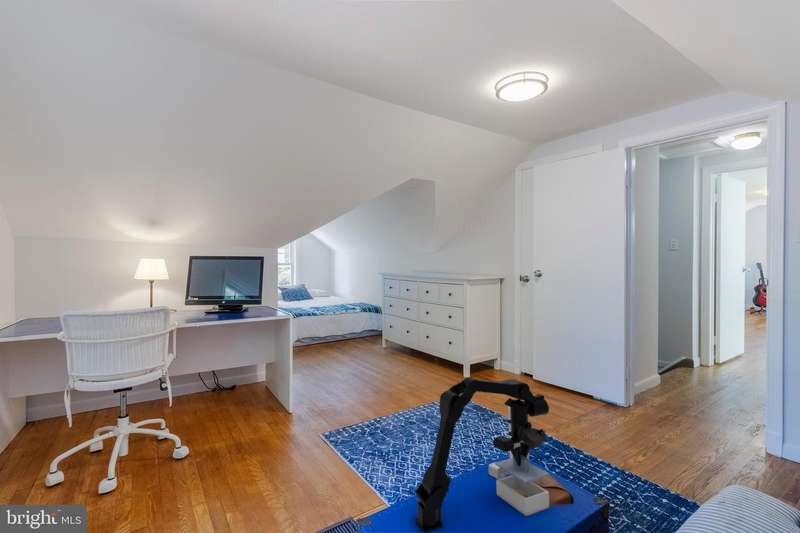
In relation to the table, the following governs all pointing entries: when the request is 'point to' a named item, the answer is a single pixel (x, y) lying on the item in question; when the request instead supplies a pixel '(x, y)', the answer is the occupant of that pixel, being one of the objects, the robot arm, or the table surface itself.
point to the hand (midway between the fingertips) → (520, 465)
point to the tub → (522, 495)
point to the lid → (522, 470)
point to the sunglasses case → (555, 491)
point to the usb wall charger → (496, 471)
